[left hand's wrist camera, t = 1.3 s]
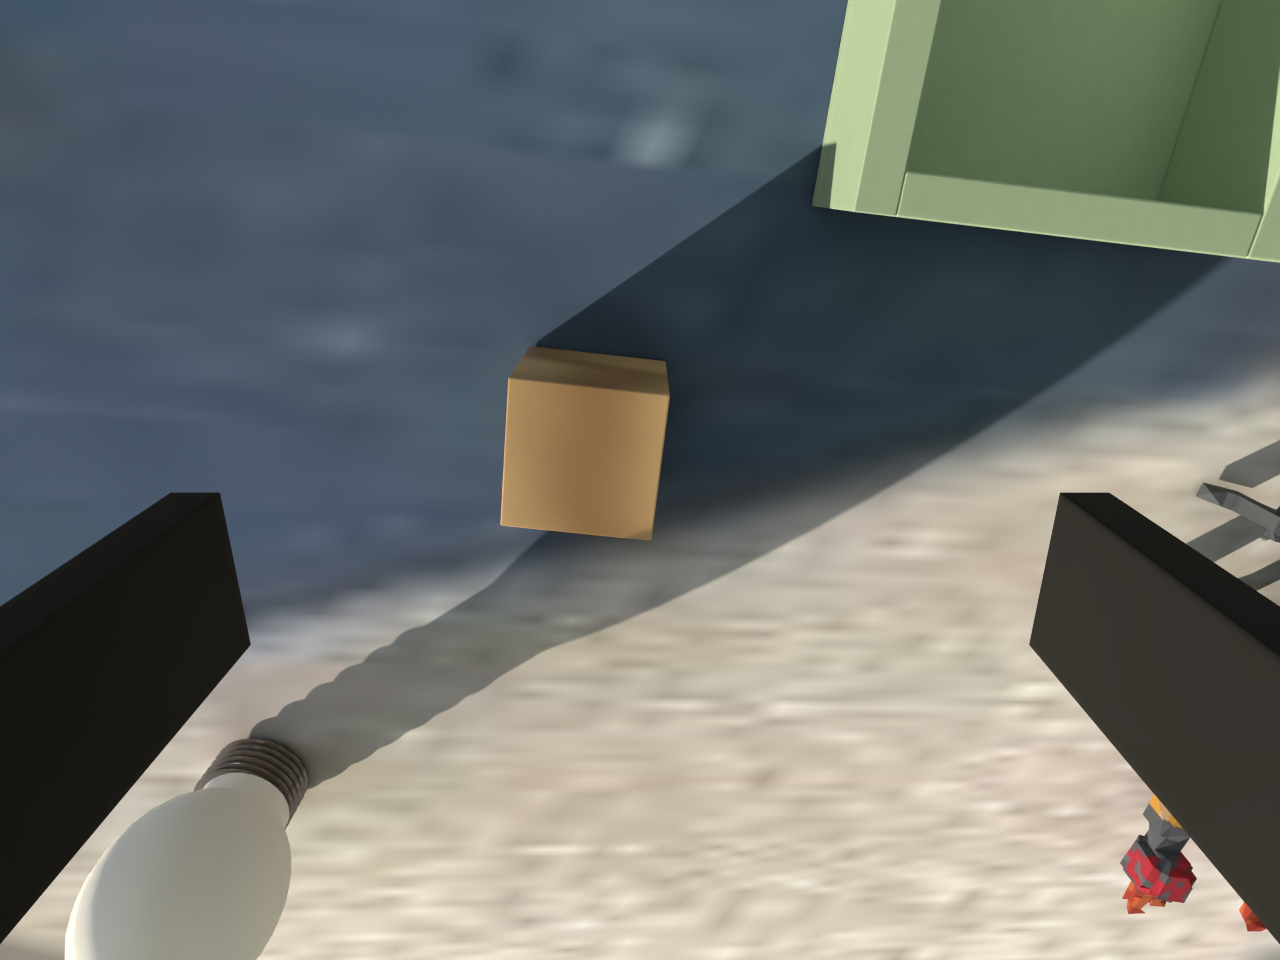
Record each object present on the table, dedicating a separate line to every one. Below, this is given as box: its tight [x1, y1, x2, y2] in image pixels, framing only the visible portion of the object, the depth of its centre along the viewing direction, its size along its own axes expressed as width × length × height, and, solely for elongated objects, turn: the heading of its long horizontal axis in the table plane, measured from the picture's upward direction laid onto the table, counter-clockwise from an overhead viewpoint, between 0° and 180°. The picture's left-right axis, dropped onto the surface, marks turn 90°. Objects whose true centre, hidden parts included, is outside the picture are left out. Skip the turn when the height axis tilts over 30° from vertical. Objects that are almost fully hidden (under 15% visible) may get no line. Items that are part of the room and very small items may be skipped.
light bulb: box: [65, 739, 308, 960], centre depth 30 cm, size 7×7×11 cm
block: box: [501, 346, 670, 541], centre depth 28 cm, size 5×5×5 cm
